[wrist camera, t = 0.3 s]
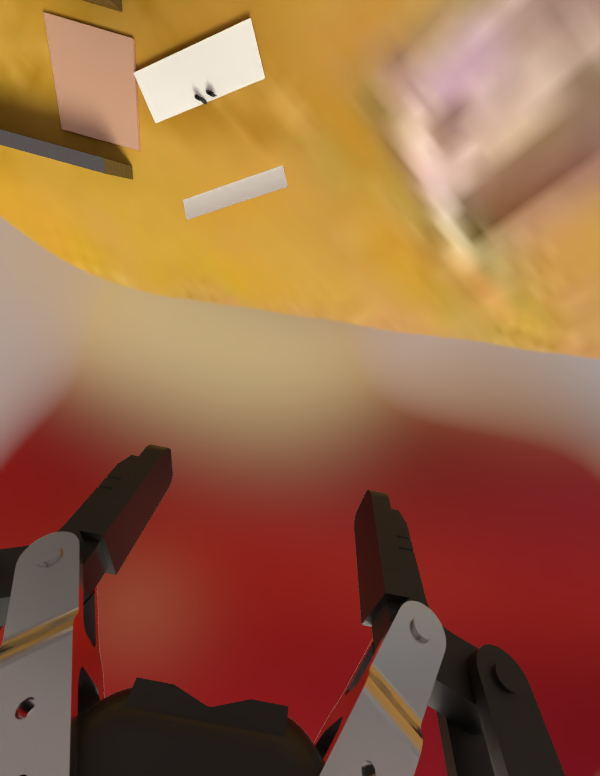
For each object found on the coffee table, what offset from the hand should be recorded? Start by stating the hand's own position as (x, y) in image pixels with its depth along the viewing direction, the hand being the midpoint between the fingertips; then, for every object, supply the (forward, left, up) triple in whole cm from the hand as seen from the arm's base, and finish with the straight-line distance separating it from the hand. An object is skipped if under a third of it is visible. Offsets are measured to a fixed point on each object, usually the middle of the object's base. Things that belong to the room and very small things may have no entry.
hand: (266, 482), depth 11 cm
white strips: (-14, -13, -29) cm, 35 cm away
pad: (-15, -25, -29) cm, 41 cm away
